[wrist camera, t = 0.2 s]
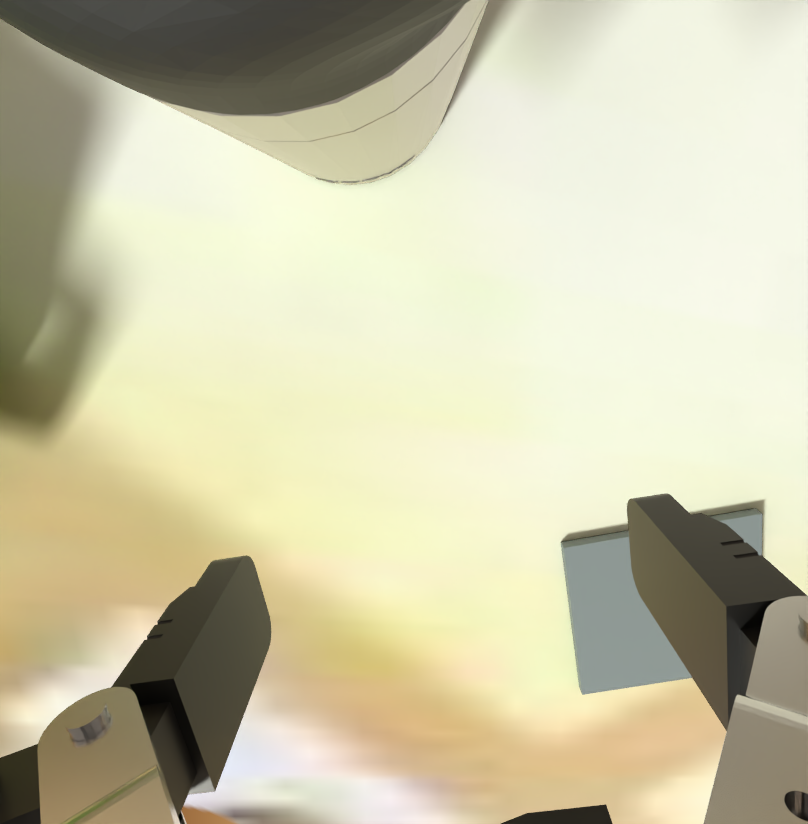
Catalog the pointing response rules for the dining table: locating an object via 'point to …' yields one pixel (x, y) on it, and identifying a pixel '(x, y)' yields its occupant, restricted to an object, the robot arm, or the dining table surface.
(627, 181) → the dining table surface
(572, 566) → the mat
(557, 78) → the dining table surface
